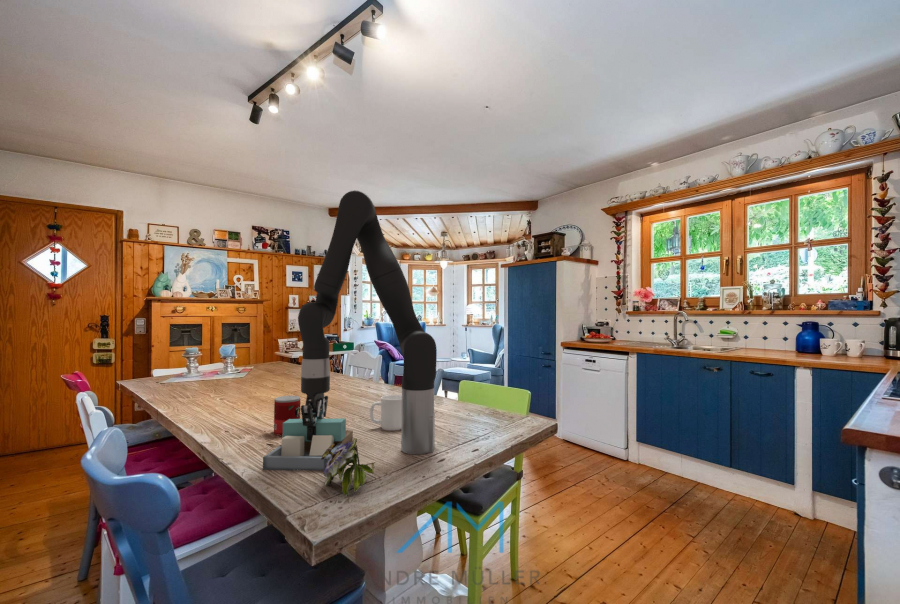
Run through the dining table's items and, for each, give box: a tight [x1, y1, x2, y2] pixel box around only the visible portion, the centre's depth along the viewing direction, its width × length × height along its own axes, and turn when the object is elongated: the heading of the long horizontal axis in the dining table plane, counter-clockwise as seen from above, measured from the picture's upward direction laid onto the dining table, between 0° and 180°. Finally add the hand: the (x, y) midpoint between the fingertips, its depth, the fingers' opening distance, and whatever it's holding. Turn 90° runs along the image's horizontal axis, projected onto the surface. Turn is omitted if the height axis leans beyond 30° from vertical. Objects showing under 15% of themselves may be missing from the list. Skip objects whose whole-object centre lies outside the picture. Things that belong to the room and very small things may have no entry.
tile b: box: [281, 436, 305, 456], centre depth 101 cm, size 5×5×2 cm
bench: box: [304, 429, 354, 452], centre depth 109 cm, size 16×10×4 cm, turn 88°
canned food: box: [273, 395, 302, 437], centre depth 123 cm, size 8×8×11 cm
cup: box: [369, 394, 402, 431], centre depth 129 cm, size 8×12×10 cm
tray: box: [262, 443, 342, 472], centre depth 98 cm, size 16×11×3 cm
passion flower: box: [321, 438, 376, 497], centre depth 85 cm, size 11×11×12 cm
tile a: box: [309, 435, 334, 457], centre depth 100 cm, size 5×5×2 cm
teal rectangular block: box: [282, 417, 347, 442], centre depth 105 cm, size 16×4×5 cm, turn 88°
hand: (314, 437), depth 105 cm, fingers closed on teal rectangular block, 4 cm apart
